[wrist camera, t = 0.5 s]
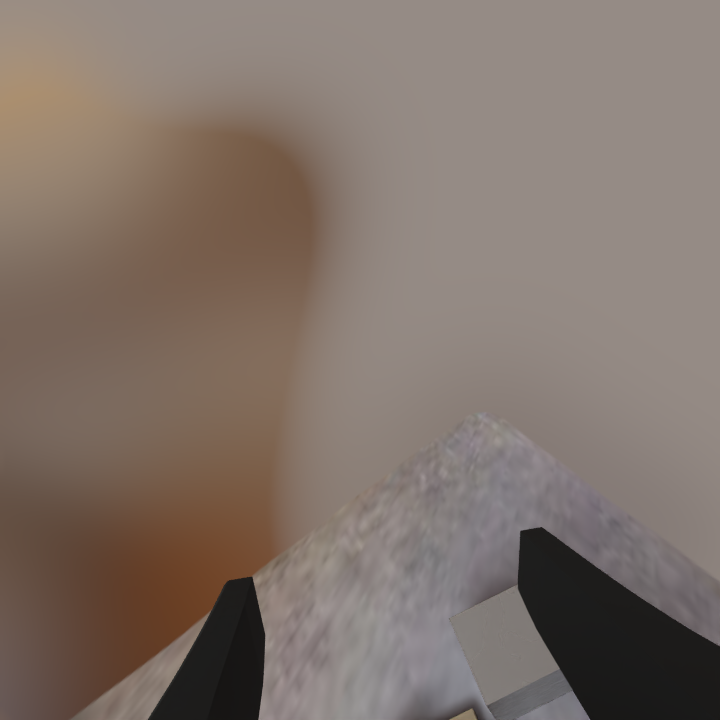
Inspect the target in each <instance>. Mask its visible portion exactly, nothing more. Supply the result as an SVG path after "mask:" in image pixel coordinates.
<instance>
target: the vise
mask: <svg viewBox="0 0 720 720" xmlns="http://www.w3.org/2000/svg"><path fill="white" fill-rule="evenodd" d="M450 720H478V718H477V716H476V713H475V711H474V710H473V709H470V710H468V711H466V712H464V713H462V714H460V715H458V716H456V717H454V718H452V719H450Z"/></svg>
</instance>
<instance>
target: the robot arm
mask: <svg viewBox="0 0 720 720" xmlns="http://www.w3.org/2000/svg"><path fill="white" fill-rule="evenodd" d="M518 591H519V593H520V595H521V597H522V600H523V602H524V604H525V606H526V608H527V611H528V613H529V615H530V617H531V619H532V621H533V623H534V625H535V627H536V629H537V631H538V633H539V635H540V636H541V638H542V640H543V641H544V643H545V645H546V646H547V648H548V650H549V651H550V653H551V655H552V657H553V658H554V660H555V662H556V663H557V665H558V667H559V668H560V670H561V672H562V673H563V675H564V677H565V678H566V680H567V682H568V683H569V685H570V687H571V688H572V690H573V692H574V693H575V695H576V697H577V698H578V700H579V701H580V703H581V705H582V706H583V708H584V710H585V711H586V713H587V715H588V716H589V718H590V720H720V646H718V645H716V644H714V643H713V642H711V641H709V640H708V639H706V638H704V637H702V636H701V635H699V634H697V633H695V632H694V631H692V630H690V629H689V628H687V627H685V626H684V625H682V624H680V623H679V622H677V621H676V620H674V619H672V618H671V617H669V616H668V615H666V614H665V613H663V612H662V611H660V610H658V609H657V608H655V607H654V606H652V605H651V604H649V603H648V602H646V601H644V600H643V599H642V598H640V597H639V596H637V595H636V594H634V593H633V592H631V591H630V590H628V589H627V588H625V587H624V586H622V585H621V584H619V583H618V582H617V581H615V580H614V579H612V578H611V577H609V576H608V575H607V574H605V573H604V572H602V571H601V570H600V569H598V568H597V567H595V566H594V565H593V564H591V563H590V562H589V561H587V560H586V559H585V558H583V557H582V556H580V555H579V554H578V553H576V552H575V551H574V550H572V549H571V548H570V547H568V546H567V545H565V544H564V543H563V542H561V541H560V540H559V539H557V538H556V537H555V536H553V535H552V534H551V533H549V532H548V531H546V530H545V529H544V528H542V527H540V528H534V529H529V530H523V531H520V551H519V570H518ZM264 655H265V632H264V627H263V623H262V618H261V614H260V609H259V605H258V600H257V595H256V591H255V586H254V582H253V577H247V578H241V579H235V580H229V581H228V582H227V583H226V584H225V585H224V587H223V589H222V591H221V593H220V595H219V597H218V599H217V601H216V603H215V605H214V607H213V609H212V611H211V613H210V615H209V617H208V618H207V620H206V622H205V624H204V626H203V628H202V630H201V631H200V633H199V635H198V637H197V639H196V641H195V642H194V644H193V646H192V648H191V649H190V651H189V653H188V655H187V656H186V658H185V660H184V662H183V663H182V665H181V667H180V669H179V670H178V672H177V674H176V675H175V677H174V679H173V680H172V682H171V683H170V685H169V687H168V688H167V690H166V691H165V693H164V695H163V696H162V698H161V699H160V701H159V703H158V704H157V706H156V707H155V709H154V711H153V712H152V714H151V715H150V717H149V719H148V720H258V718H259V710H260V703H261V696H262V688H263V676H264Z"/></svg>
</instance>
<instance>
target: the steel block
mask: <svg viewBox="0 0 720 720" xmlns="http://www.w3.org/2000/svg"><path fill="white" fill-rule="evenodd" d="M449 620H450V622H451V624H452V627H453V629H454V631H455V634H456V636H457V638H458V641H459V643H460V645H461V647H462V650H463V652H464V654H465V657H466V659H467V661H468V664H469V666H470V668H471V671H472V673H473V675H474V678H475V680H476V682H477V685H478V687H479V689H480V692H481V694H482V696H483V699H484V701H485V703H486V706H487V707H488V709H489V710H490V712H491V713H492V714H493V716H494V717H495V719H496V720H515V719H517V718H519V717H521V716H523V715H525V714H527V713H529V712H531V711H533V710H535V709H537V708H539V707H541V706H543V705H545V704H547V703H549V702H550V701H552V700H554V699H556V698H558V697H560V696H562V695H564V694H566V693H568V692H570V691H572V688H571V687H570V685H569V683H568V682H567V680H566V678H565V677H564V675H563V673H562V672H561V670H560V668H559V667H558V665H557V663H556V662H555V660H554V658H553V657H552V655H551V653H550V651H549V650H548V648H547V646H546V645H545V643H544V641H543V640H542V638H541V636H540V635H539V633H538V631H537V629H536V627H535V625H534V623H533V621H532V619H531V617H530V615H529V613H528V611H527V608H526V606H525V604H524V602H523V600H522V597H521V595H520V593H519V591H518V584H517V585H515V586H513V587H511V588H509V589H507V590H505V591H503V592H501V593H499V594H497V595H495V596H493V597H491V598H489V599H487V600H485V601H483V602H481V603H479V604H477V605H475V606H473V607H471V608H469V609H467V610H465V611H463V612H461V613H459V614H457V615H455V616H453V617H451V618H449Z"/></svg>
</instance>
